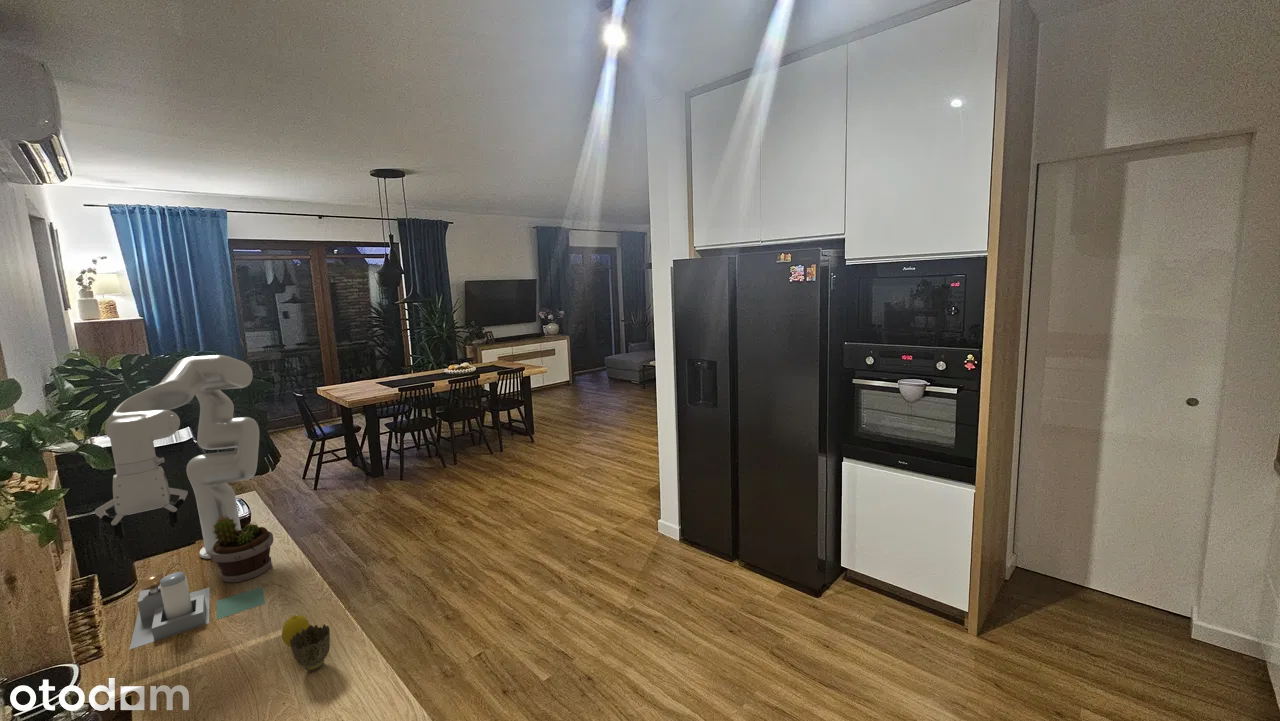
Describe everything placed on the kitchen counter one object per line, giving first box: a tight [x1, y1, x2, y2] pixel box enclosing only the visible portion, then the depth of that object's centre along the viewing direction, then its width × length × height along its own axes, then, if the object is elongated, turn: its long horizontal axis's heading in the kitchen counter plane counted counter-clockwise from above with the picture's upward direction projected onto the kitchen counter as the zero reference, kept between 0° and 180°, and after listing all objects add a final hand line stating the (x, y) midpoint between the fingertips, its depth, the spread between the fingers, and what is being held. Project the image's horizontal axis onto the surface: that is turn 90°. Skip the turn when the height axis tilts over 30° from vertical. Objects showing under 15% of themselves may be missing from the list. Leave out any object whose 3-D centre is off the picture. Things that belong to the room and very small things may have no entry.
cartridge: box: [160, 571, 193, 620], centre depth 133 cm, size 5×5×12 cm
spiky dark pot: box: [290, 624, 331, 673], centre depth 117 cm, size 8×7×8 cm
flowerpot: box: [210, 515, 274, 583], centre depth 154 cm, size 14×15×20 cm
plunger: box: [139, 572, 164, 595], centre depth 138 cm, size 4×4×6 cm
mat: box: [216, 586, 266, 620], centre depth 141 cm, size 10×10×1 cm
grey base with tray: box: [128, 586, 211, 650], centre depth 136 cm, size 20×14×6 cm
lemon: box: [281, 614, 311, 648], centre depth 124 cm, size 6×6×8 cm
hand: (148, 531), depth 136 cm, fingers open, 9 cm apart
